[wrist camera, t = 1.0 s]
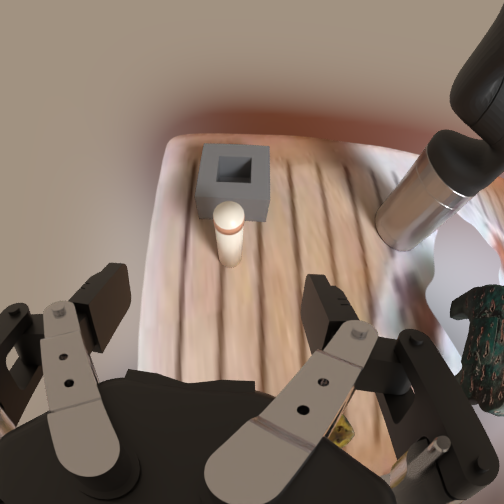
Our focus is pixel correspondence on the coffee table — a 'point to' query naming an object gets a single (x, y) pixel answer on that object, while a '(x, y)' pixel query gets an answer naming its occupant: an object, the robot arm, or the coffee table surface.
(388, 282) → the coffee table surface
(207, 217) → the hole block
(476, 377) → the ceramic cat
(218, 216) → the dowel
